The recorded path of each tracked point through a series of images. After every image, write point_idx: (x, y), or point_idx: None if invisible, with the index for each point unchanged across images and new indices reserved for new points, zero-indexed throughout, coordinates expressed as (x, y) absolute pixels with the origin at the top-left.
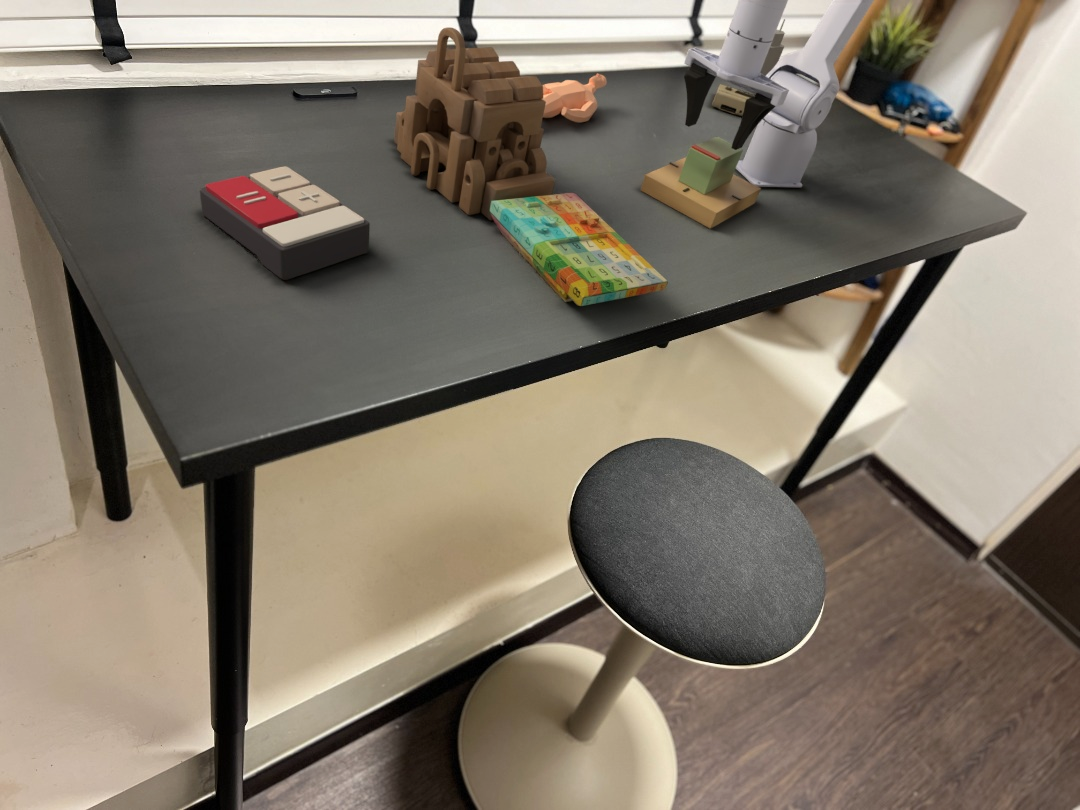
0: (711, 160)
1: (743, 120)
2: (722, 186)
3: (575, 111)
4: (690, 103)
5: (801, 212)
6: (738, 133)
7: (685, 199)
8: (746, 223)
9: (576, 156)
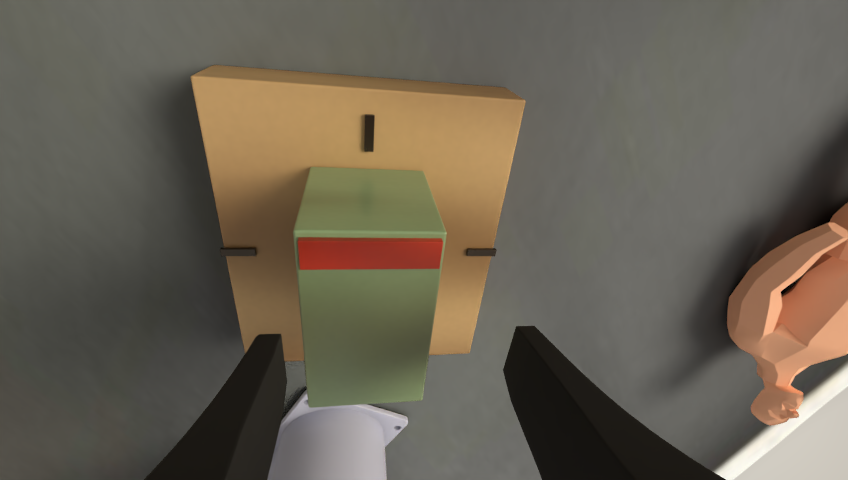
0: (323, 227)
1: (207, 473)
2: None
3: (800, 262)
4: (591, 400)
5: (168, 390)
6: (245, 394)
7: (341, 85)
8: (187, 218)
9: (730, 101)
